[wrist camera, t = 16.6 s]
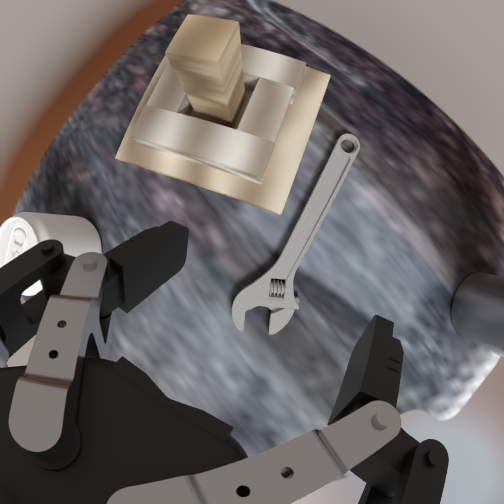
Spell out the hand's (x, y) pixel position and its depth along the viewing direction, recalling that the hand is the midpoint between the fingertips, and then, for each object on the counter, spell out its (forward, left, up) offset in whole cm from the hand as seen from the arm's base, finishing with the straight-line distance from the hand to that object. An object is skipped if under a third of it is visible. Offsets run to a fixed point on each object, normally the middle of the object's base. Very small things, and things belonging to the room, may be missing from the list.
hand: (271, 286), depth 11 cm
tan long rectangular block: (+10, -14, -20) cm, 26 cm away
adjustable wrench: (-4, -3, -22) cm, 23 cm away
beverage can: (+22, +7, -22) cm, 32 cm away
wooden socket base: (+10, -14, -22) cm, 27 cm away
